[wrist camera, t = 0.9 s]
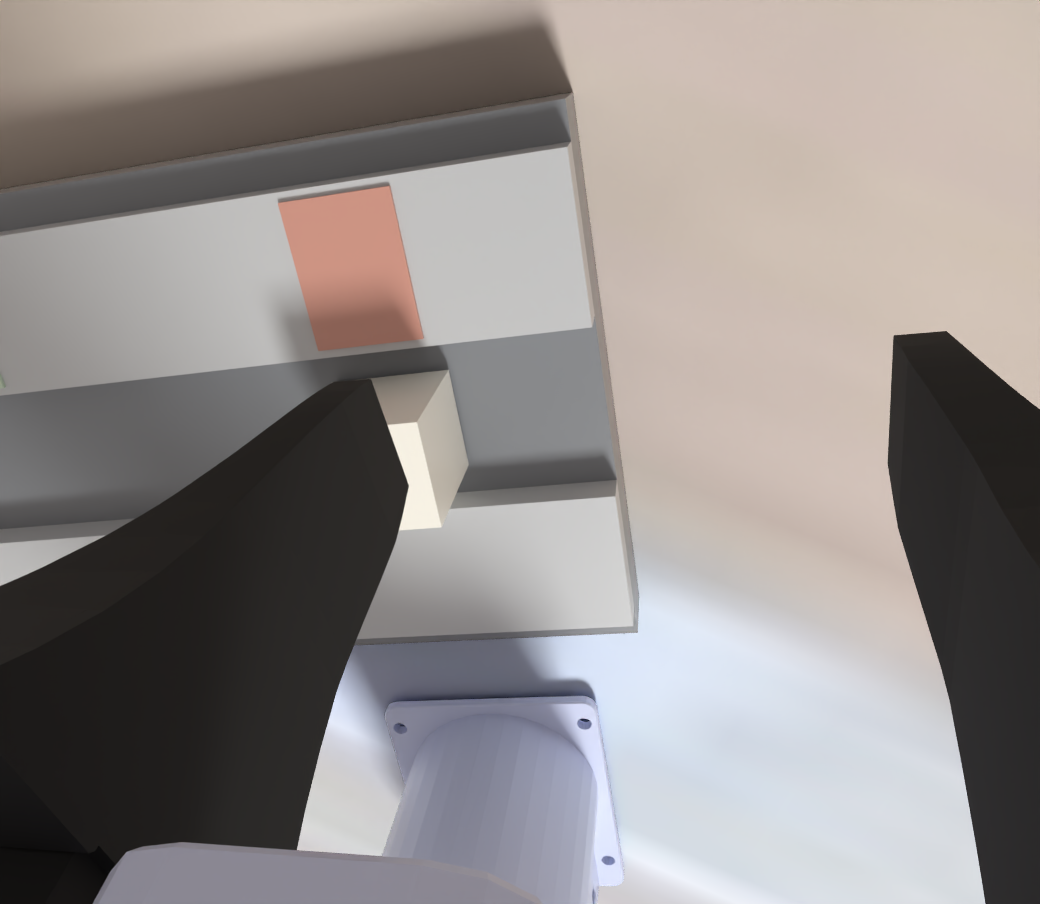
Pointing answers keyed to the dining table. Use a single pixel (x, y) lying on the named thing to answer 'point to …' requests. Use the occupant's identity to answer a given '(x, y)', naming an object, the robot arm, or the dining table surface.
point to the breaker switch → (424, 442)
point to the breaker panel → (329, 351)
